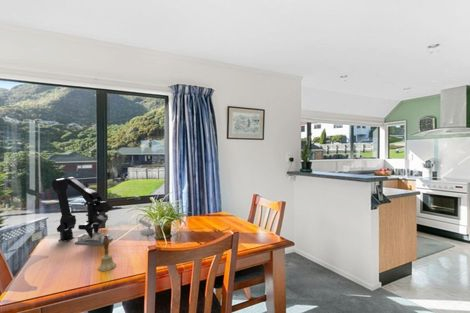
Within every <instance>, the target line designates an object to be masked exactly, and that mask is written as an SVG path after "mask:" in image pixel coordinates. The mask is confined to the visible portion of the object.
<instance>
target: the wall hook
mask: <svg viewBox="0 0 470 313" xmlns="http://www.w3.org/2000/svg"><path fill="white" fill-rule="evenodd" d="M138 223H139V224H141V225H143V226H145V227H142V228H140V230H139V231H140V234H141V235H143V236H144V235H145V236H146V235H152V234H153V233H154V232H155V228H154V227H153V226H152V223H151V222H149V221H147V220H146V219H143V218H139V220H138Z"/></svg>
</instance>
